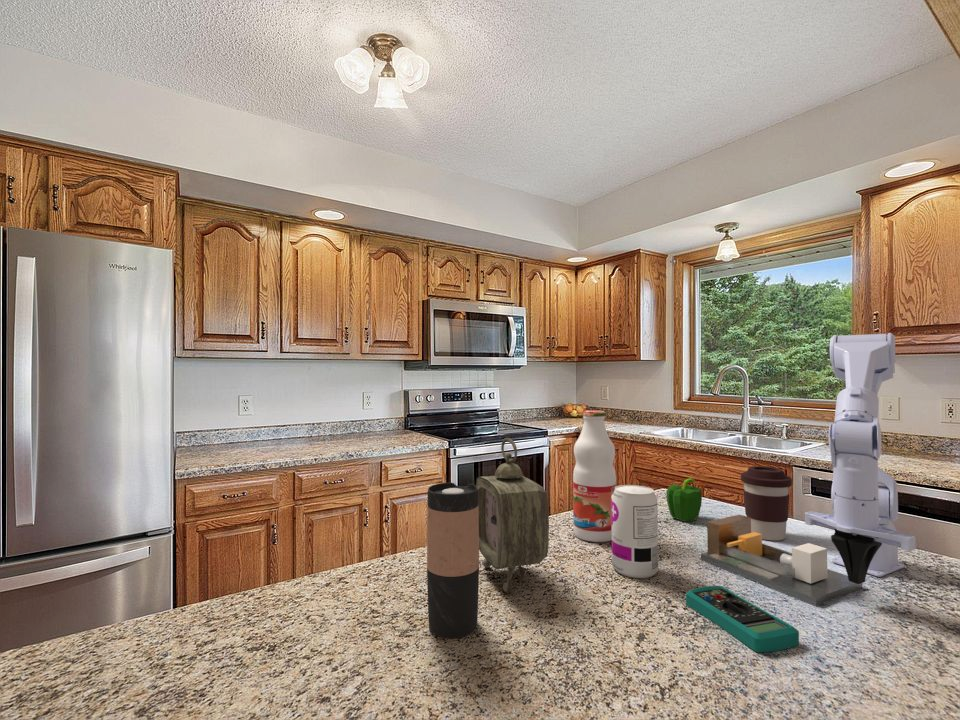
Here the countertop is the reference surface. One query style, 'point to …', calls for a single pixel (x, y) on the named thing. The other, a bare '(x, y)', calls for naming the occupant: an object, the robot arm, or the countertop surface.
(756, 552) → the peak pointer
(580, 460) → the fruit juice
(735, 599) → the digital multimeter
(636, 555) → the supplement can
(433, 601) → the travel mug
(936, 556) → the countertop surface
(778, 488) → the coffee cup
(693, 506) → the bell pepper
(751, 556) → the base
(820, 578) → the cream block with peg
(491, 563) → the tabletop clock
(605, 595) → the countertop surface
